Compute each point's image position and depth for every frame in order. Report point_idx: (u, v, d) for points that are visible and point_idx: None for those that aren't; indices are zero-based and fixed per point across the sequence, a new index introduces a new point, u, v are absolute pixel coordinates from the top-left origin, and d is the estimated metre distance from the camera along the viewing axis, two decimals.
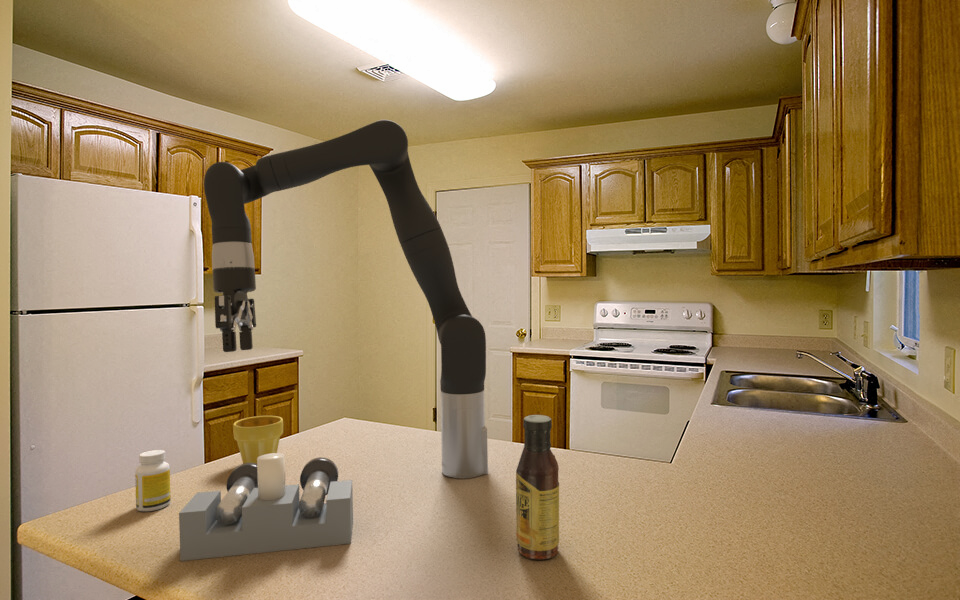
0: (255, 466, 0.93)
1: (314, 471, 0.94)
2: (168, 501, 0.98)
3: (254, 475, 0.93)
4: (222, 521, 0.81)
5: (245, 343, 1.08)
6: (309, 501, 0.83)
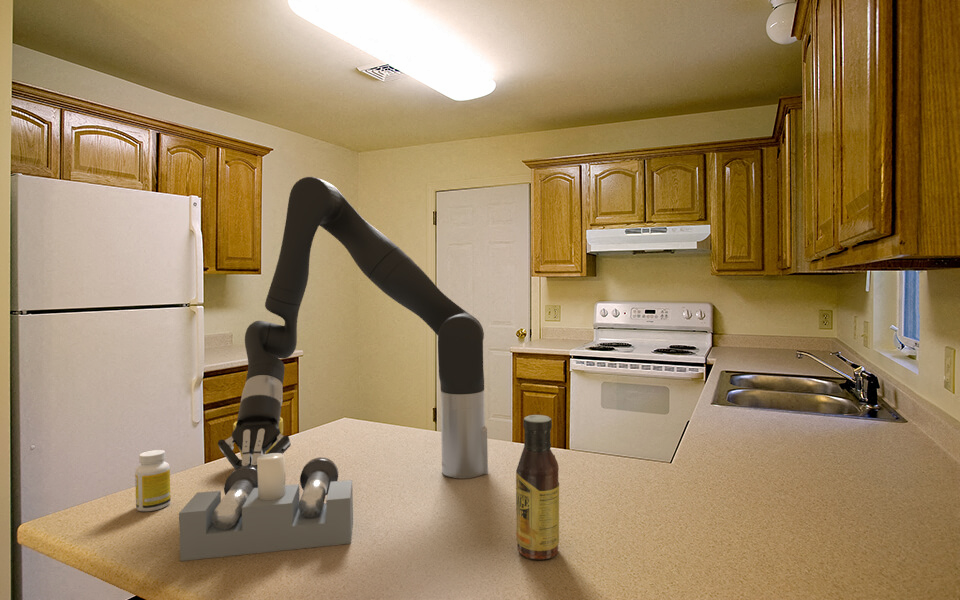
0: (253, 469, 0.92)
1: (314, 471, 0.94)
2: (168, 501, 0.98)
3: (252, 478, 0.91)
4: (219, 525, 0.79)
5: None
6: (309, 501, 0.83)
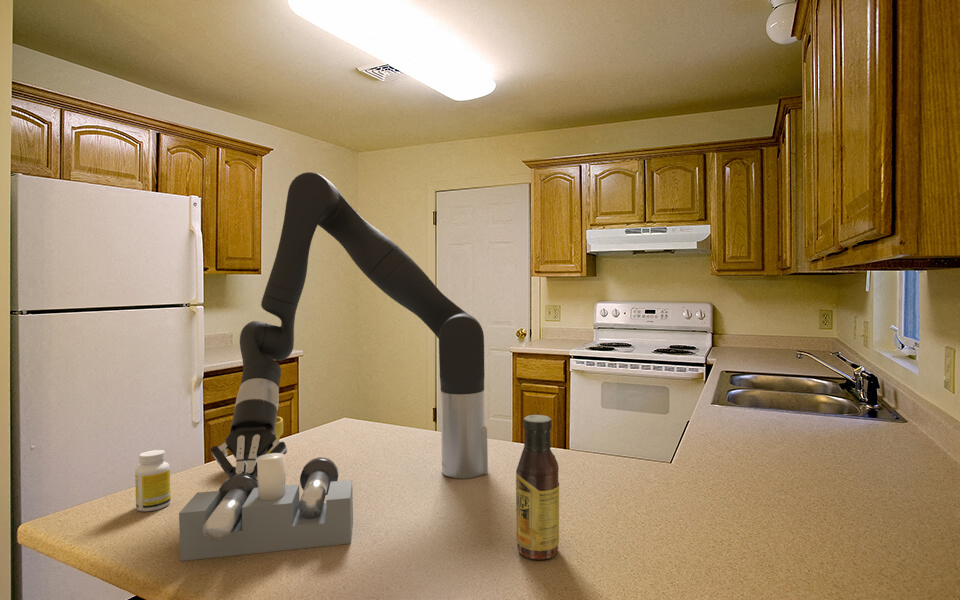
0: (247, 477, 0.88)
1: (314, 471, 0.94)
2: (168, 501, 0.98)
3: (246, 487, 0.87)
4: (211, 538, 0.75)
5: None
6: (309, 501, 0.83)
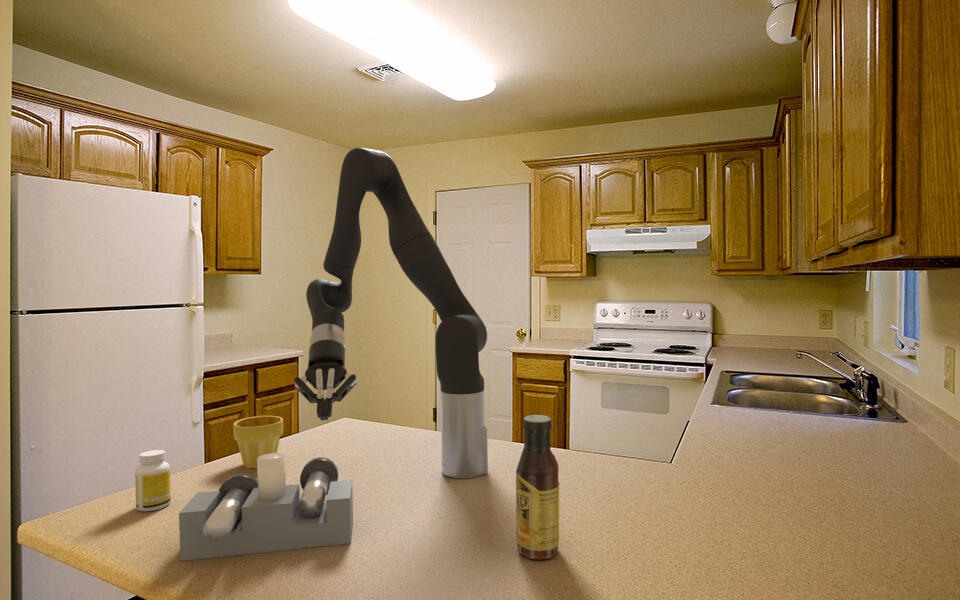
0: (247, 477, 0.88)
1: (314, 471, 0.94)
2: (168, 501, 0.98)
3: (246, 487, 0.87)
4: (211, 538, 0.75)
5: None
6: (309, 501, 0.83)
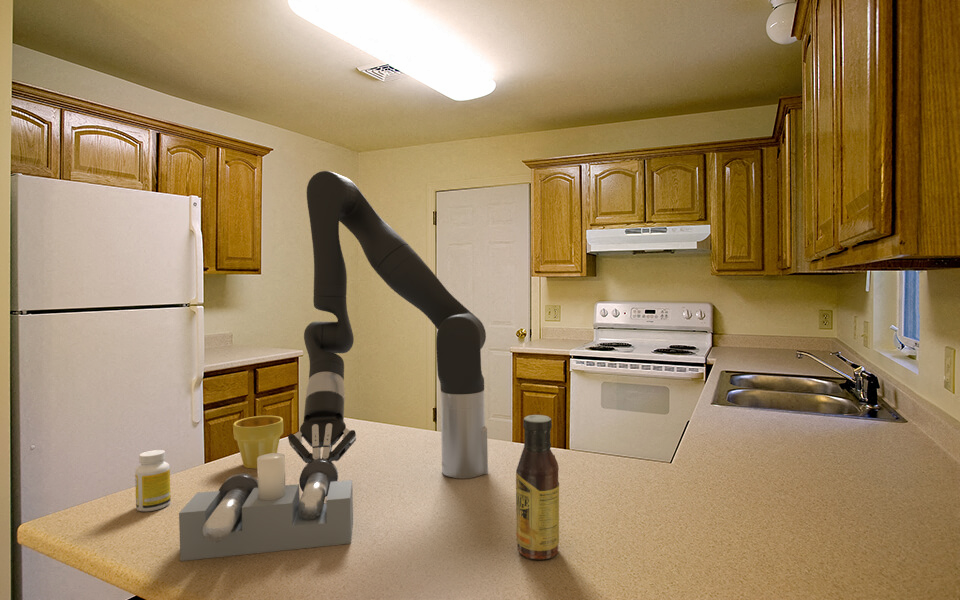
0: (247, 477, 0.88)
1: (314, 472, 0.93)
2: (168, 501, 0.98)
3: (246, 487, 0.87)
4: (211, 538, 0.75)
5: None
6: (308, 503, 0.82)
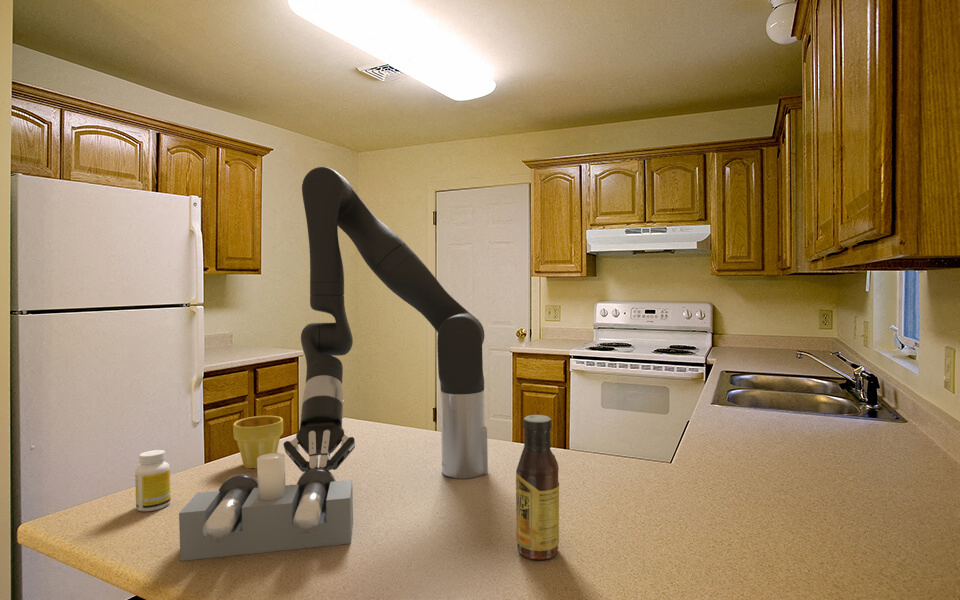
0: (247, 477, 0.88)
1: (310, 482, 0.88)
2: (168, 501, 0.98)
3: (246, 487, 0.87)
4: (211, 538, 0.75)
5: None
6: (304, 516, 0.78)
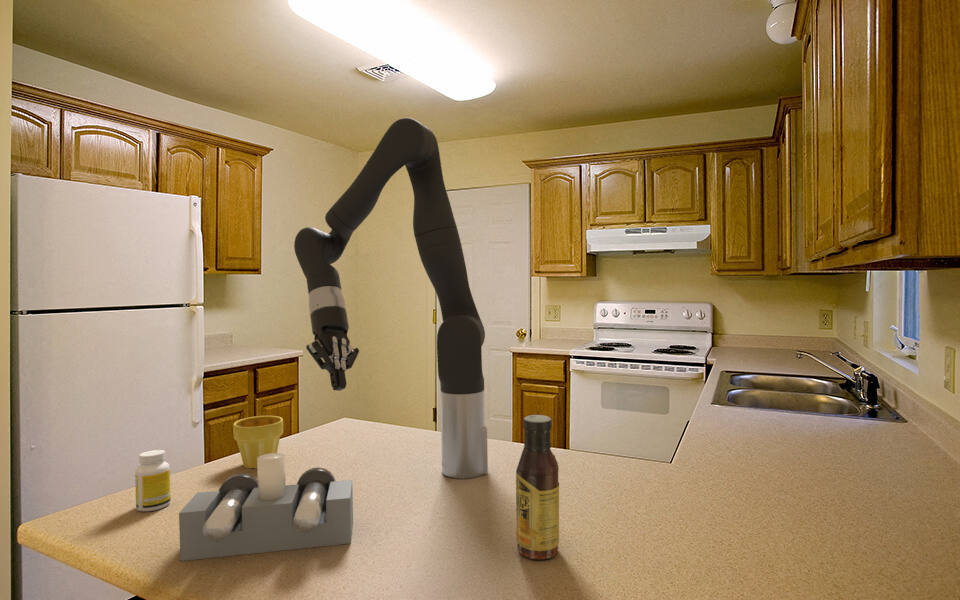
0: (247, 477, 0.88)
1: (310, 482, 0.88)
2: (168, 501, 0.98)
3: (246, 487, 0.87)
4: (211, 538, 0.75)
5: None
6: (304, 516, 0.78)
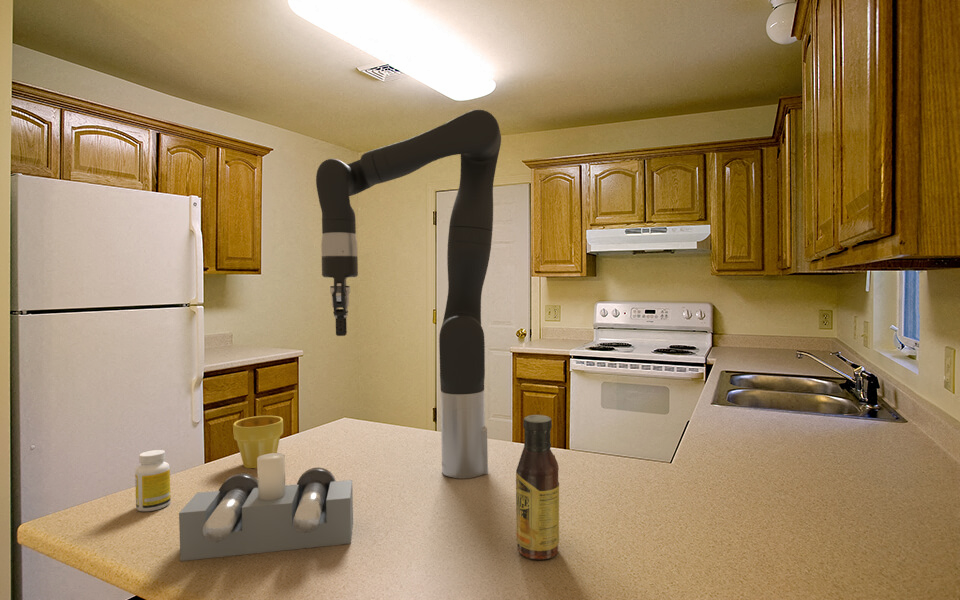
0: (247, 477, 0.88)
1: (310, 482, 0.88)
2: (168, 501, 0.98)
3: (246, 487, 0.87)
4: (211, 538, 0.75)
5: None
6: (304, 516, 0.78)
